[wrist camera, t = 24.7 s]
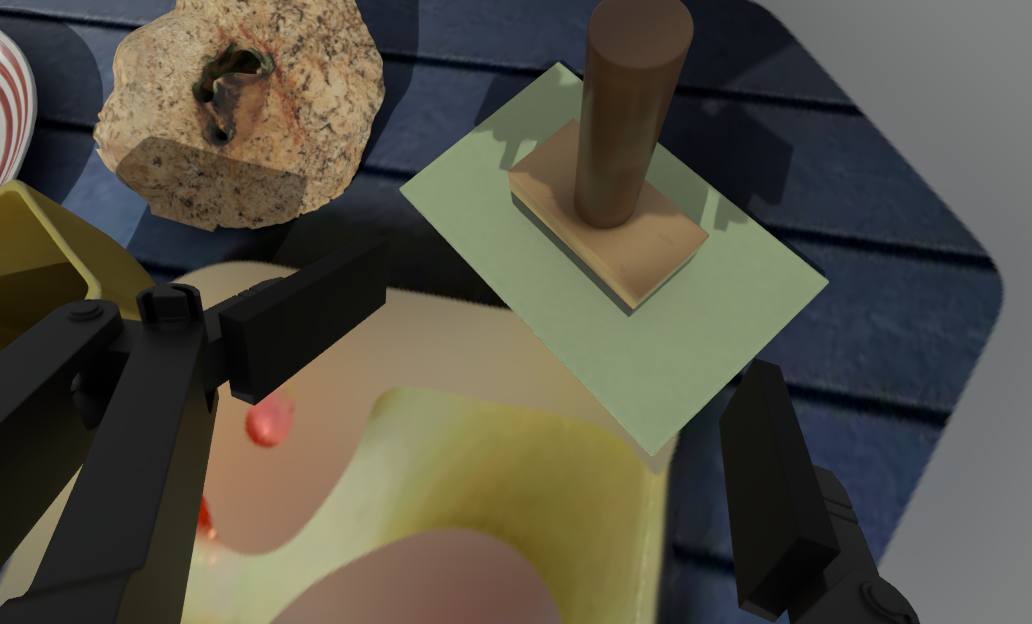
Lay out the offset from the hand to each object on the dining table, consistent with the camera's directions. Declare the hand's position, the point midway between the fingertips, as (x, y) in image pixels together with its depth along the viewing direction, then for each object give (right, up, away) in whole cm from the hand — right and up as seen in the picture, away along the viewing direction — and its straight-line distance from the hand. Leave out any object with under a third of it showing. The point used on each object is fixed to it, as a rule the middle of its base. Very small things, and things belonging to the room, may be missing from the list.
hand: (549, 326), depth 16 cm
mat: (+4, +5, +12) cm, 14 cm away
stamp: (+4, +5, +11) cm, 13 cm away
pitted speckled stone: (-17, +13, +16) cm, 27 cm away
